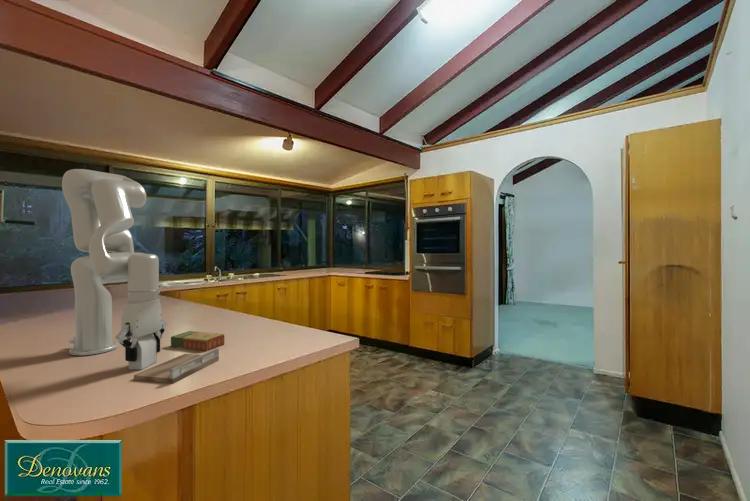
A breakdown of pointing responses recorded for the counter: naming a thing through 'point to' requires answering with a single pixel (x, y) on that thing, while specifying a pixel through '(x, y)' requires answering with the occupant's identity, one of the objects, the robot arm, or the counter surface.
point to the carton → (197, 340)
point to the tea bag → (145, 352)
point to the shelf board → (178, 367)
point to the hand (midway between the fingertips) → (143, 355)
